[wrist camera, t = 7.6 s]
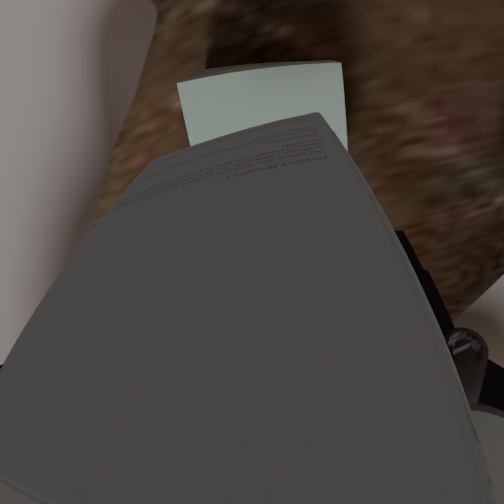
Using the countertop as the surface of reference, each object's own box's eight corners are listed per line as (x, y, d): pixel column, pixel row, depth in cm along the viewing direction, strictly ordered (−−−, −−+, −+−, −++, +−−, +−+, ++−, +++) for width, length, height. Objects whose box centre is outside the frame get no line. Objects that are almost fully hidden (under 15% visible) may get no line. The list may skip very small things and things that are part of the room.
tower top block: (192, 77, 23) (176, 83, 19) (330, 60, 22) (341, 62, 18) (217, 195, 29) (208, 220, 26) (339, 184, 28) (348, 207, 24)
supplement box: (210, 287, 17) (155, 544, 7) (149, 156, 13) (-54, 451, 3) (354, 260, 15) (403, 547, 5) (326, 106, 11) (518, 529, 1)
